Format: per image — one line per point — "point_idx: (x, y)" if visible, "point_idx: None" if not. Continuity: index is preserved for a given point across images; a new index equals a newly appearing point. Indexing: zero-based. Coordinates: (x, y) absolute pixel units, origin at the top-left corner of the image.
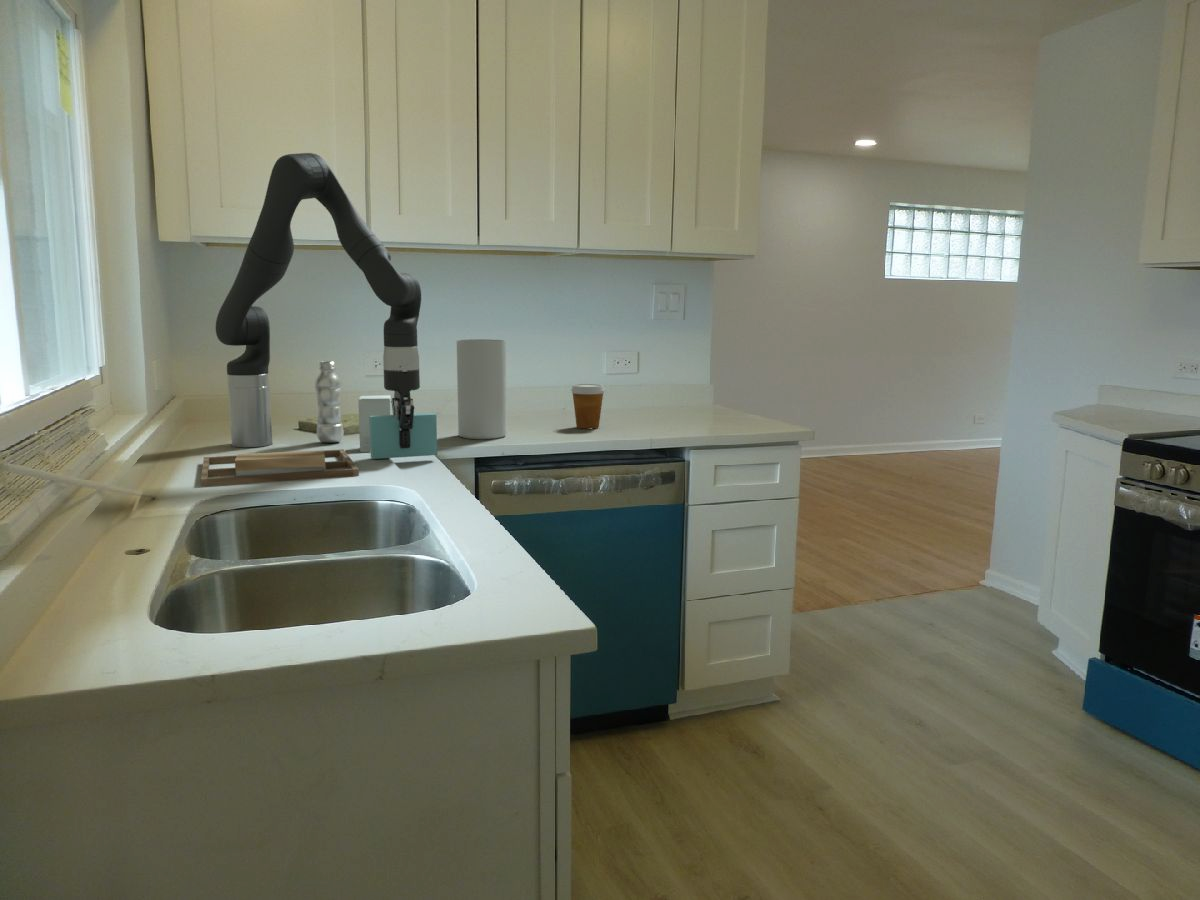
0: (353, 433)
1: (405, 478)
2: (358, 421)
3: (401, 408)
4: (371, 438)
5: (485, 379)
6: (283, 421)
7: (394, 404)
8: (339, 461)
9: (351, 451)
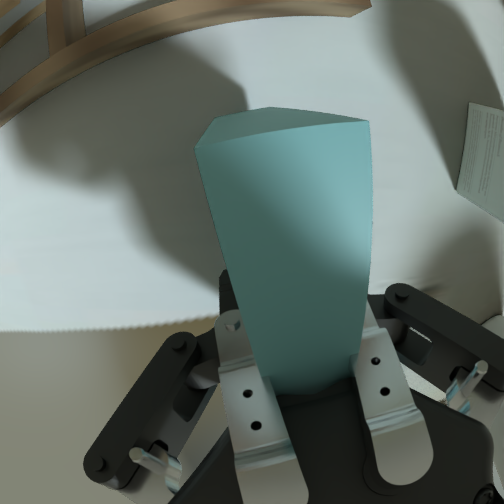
0: None
1: (25, 251)
2: None
3: (92, 461)
4: (221, 121)
5: (495, 436)
6: None
7: (272, 473)
8: (53, 29)
9: (481, 84)
